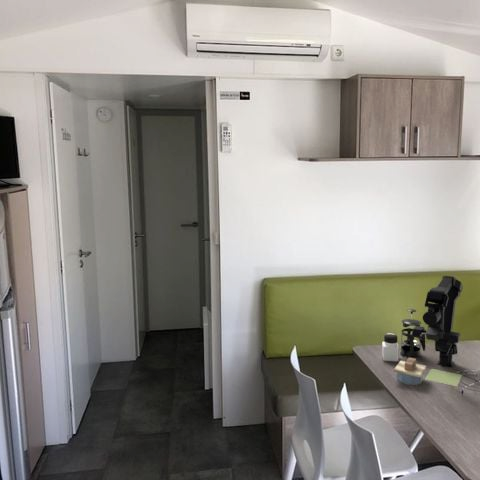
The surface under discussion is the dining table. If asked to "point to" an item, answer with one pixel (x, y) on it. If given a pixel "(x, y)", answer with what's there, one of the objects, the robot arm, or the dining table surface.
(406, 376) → the bowl
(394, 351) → the medicine bottle
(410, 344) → the french press
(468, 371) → the dining table surface
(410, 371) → the lid
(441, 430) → the dining table surface
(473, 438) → the dining table surface
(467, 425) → the dining table surface
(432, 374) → the mat
